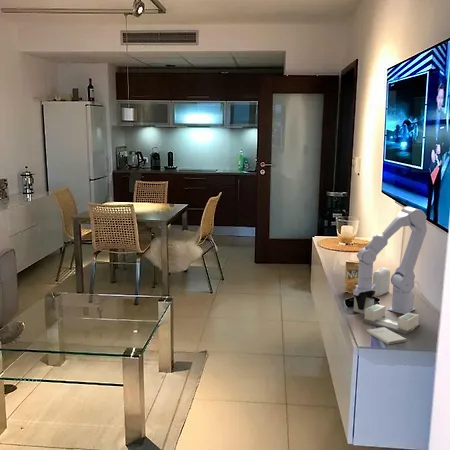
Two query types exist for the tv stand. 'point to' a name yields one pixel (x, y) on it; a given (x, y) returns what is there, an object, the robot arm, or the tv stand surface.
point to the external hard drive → (386, 335)
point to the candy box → (351, 275)
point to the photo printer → (381, 281)
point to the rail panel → (391, 320)
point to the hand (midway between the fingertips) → (363, 308)
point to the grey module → (368, 303)
